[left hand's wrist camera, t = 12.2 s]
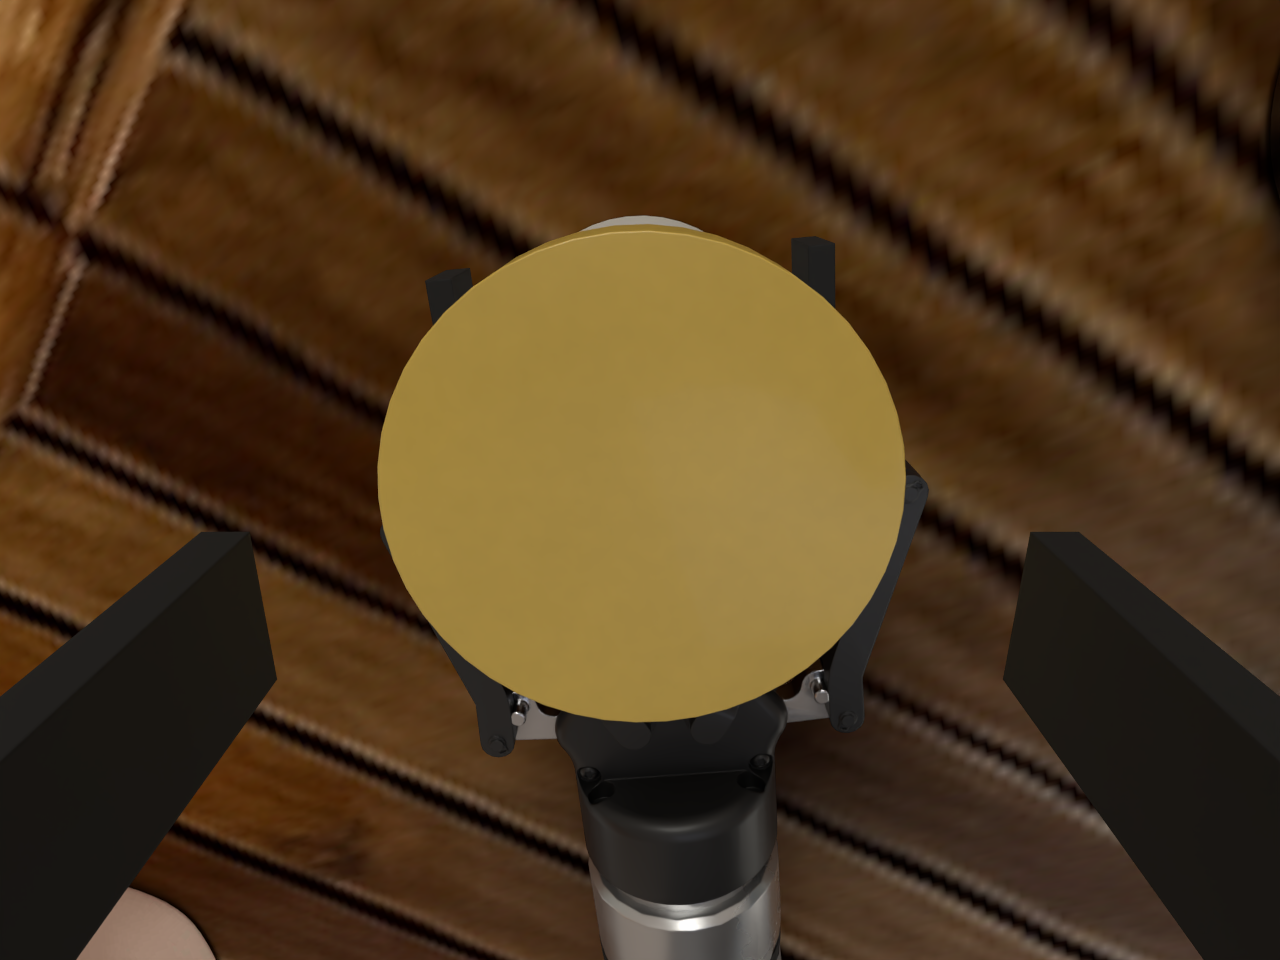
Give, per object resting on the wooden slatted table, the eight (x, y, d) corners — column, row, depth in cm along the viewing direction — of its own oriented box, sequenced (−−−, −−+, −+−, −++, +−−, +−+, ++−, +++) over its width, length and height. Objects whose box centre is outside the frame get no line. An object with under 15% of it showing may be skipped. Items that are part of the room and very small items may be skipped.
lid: (906, 624, 21) (934, 670, 19) (486, 710, 22) (470, 762, 20) (841, 165, 17) (867, 164, 15) (332, 293, 18) (295, 308, 16)
